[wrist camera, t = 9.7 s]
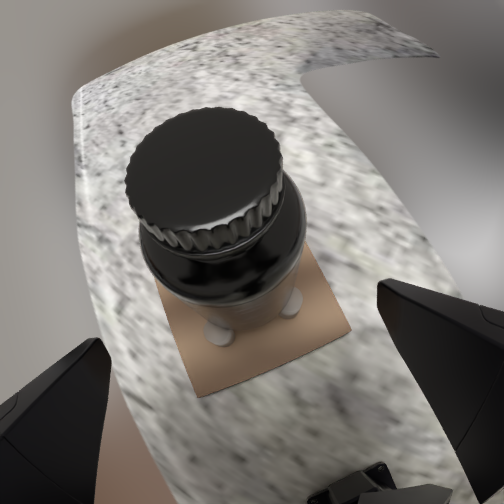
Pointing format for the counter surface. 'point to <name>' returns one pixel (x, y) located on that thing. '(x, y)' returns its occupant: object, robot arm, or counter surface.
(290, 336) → the peg stand
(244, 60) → the counter surface
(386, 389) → the counter surface
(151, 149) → the supplement bottle
